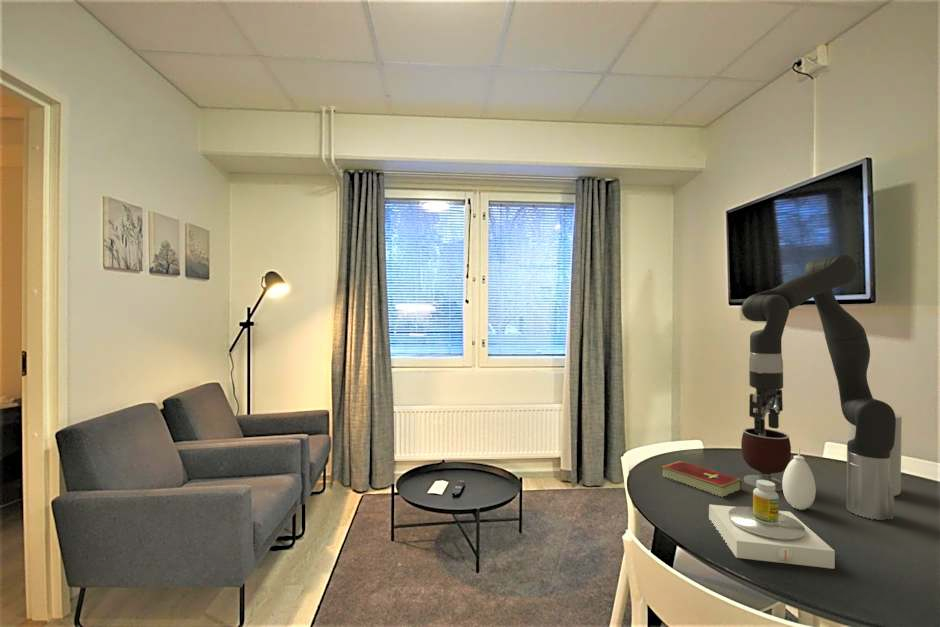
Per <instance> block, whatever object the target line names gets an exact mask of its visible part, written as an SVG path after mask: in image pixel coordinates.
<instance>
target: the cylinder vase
mask: <svg viewBox="0 0 940 627" xmlns="http://www.w3.org/2000/svg"><path fill="white" fill-rule="evenodd" d="M895 417H896V429H895V442H894V447H893V449H892V450H891V452H890V484H892V485H893V486H894V495H897V496H899V495H900V494H901V491H902V490H901V489H902V487H901V486H902V484H901V483H902V481H901V479H902V478H901V477H902V473H901V472H902V423H903V422H902V419H903V418H902V415H900V414H898V413H895ZM855 433H856V426H855V425H853V424H851V423H849V436H848V437H849V440H852V439H854V438H855ZM849 440H848V441H849ZM898 494H899V495H898Z"/></svg>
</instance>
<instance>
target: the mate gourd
mask: <svg viewBox="0 0 940 627" xmlns="http://www.w3.org/2000/svg"><path fill="white" fill-rule="evenodd" d="M740 447H741V454H742V458H743V461H745V463H746V464H747V465H748V467H750V468H751V469H753V470H755V471H757V472H759V475H758V474H749V475H748V474H747V475H744V477H743V482H745V484H747V485H749V486H751V487H753V488H757V486H756V481H757V480H767V481H770V482H773V483H775V488H776V489H775V492H782V491H781V490H783V487H782V481H783V480H780V479H777V478H774V477H771V476H772V474H778V473H784V472H785V469H786V467H787V466H788V464H789V463H790V461H791V457H792V446H791V440H790V435H789V434H787V433H785V432H782V431H779V430H773V429H768V428H765V433H764V434H759V433H756V432H755V431H754V427H751V428H750V427H749V428H744V429H743V433H742V436H741V445H740Z"/></svg>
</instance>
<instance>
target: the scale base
mask: <svg viewBox="0 0 940 627" xmlns="http://www.w3.org/2000/svg"><path fill="white" fill-rule="evenodd" d="M708 505H709V506H708V520H709V521H710V520H711V521H712V522H711V521H710V522H711V524H712V523H713V524H714V525H713V524H712V525H713V527H714V526H715V527H716V528H715V527H714V528H715V529H716V530H718V531H719V532H718V531H717V532H718V534H719V533H720V534H721V535H720V534H719V535H720V537H721V538H722V537H723V538H722V539H723V541H724V540H725V541H724V542H725V543H727V544H726V545H727V546H728V548H729V549H730V551H731V552H732V554H733V555H734V556H735V558H737V559H745V560H753V561H764V562H771V563H780V564H781V563H782V564H789V565H799V566H807V567H813V568H814V567H817V568H824V569H834V570H835V563H836V561H835V560H836V558H835V557H836V552H835V550H834V549H833V548H832V547H831V546H830V545H829V544H828V543H826V542H825V540H823V539H822V538H820V537H819V536H818V534H816V533H815V532H814V531H813V530H812V529H810V528H809V527H808V526H807V525H806V524H804V522H802V521H801V520H800V519H799V518H798V517H797V516H796V515H794V514H793V513H792V512H791V511H785V510H778V512H779V513H781V514H784V515H787V516H789V517H791V518H793V519H795V520H796V521H798V522H799V523H801V524H802V525H803V526H804V528H805V536H804V537H803V538H801V539H797V540H779V539H772V538H767V537H763V536H759V535H756V534H753V533H751V532H748V531H746V530H744V529H742V528H740V527H738V526H736V525H735V524H734V523H732V522H731V521H730V519H729V510H731V509H732V508H735V507H736V506H731V505H720V504H718V505H717V504H710V503H709V504H708Z"/></svg>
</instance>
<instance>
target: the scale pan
mask: <svg viewBox="0 0 940 627" xmlns="http://www.w3.org/2000/svg"><path fill="white" fill-rule="evenodd" d="M734 507H735V508H732V509H731V510H729V519H730V521H731V522H732V523H734V524H735V525H736V526H738V527H740V528H742V529H744V530H746V531H748V532H751V533H753V534H756V535H759V536H763V537H767V538H772V539H779V540H797V539H801V538H803V537H804V536H805V528H804V526H803V525H802V524H801V523H799V522H798V521H796V520H795V519H793V518H791V517H789V516H787V515H784V514H781V513H779V512H778V523H777V524H776V525H767V524H763V523H760V522H758V521H756V520H755V519H754V518H753V506H734Z"/></svg>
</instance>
